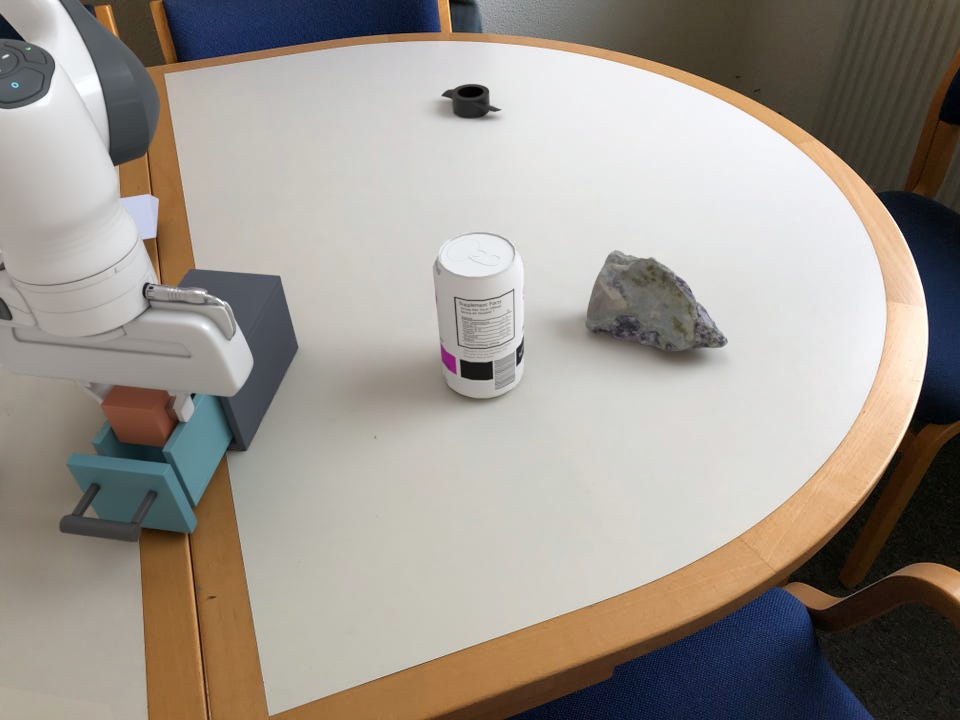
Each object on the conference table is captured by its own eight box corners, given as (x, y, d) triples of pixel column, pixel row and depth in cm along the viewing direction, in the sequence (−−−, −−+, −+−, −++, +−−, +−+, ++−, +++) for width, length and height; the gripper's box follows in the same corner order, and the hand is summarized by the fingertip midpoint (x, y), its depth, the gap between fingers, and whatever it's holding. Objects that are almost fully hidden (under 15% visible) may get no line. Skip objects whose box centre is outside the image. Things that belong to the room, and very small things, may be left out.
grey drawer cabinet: (247, 451, 74) (220, 377, 68) (152, 440, 76) (117, 367, 69) (299, 347, 85) (280, 275, 78) (215, 339, 86) (189, 268, 80)
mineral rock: (729, 359, 81) (748, 280, 74) (643, 396, 78) (655, 317, 71) (653, 291, 90) (664, 215, 83) (572, 322, 86) (576, 245, 79)
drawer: (168, 581, 63) (135, 523, 58) (72, 567, 65) (32, 509, 59) (252, 417, 76) (232, 357, 71) (171, 408, 78) (145, 349, 72)
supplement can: (427, 383, 80) (413, 262, 70) (473, 337, 85) (465, 218, 75) (494, 414, 77) (490, 292, 66) (538, 364, 81) (540, 243, 71)
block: (169, 448, 66) (151, 410, 62) (119, 442, 66) (99, 405, 63) (192, 408, 69) (177, 371, 66) (144, 403, 69) (127, 366, 66)
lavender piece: (166, 221, 104) (62, 238, 102) (150, 175, 99) (41, 192, 97) (164, 260, 98) (53, 279, 95) (147, 213, 93) (29, 232, 91)
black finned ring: (486, 93, 129) (485, 75, 127) (504, 119, 122) (503, 101, 120) (440, 100, 127) (438, 82, 125) (455, 127, 120) (454, 109, 118)
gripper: (241, 265, 58) (280, 397, 67) (-10, 245, 61) (61, 374, 70) (205, 320, 53) (252, 454, 63) (-64, 296, 56) (20, 427, 66)
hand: (150, 412), depth 66 cm, fingers closed on block, 4 cm apart
